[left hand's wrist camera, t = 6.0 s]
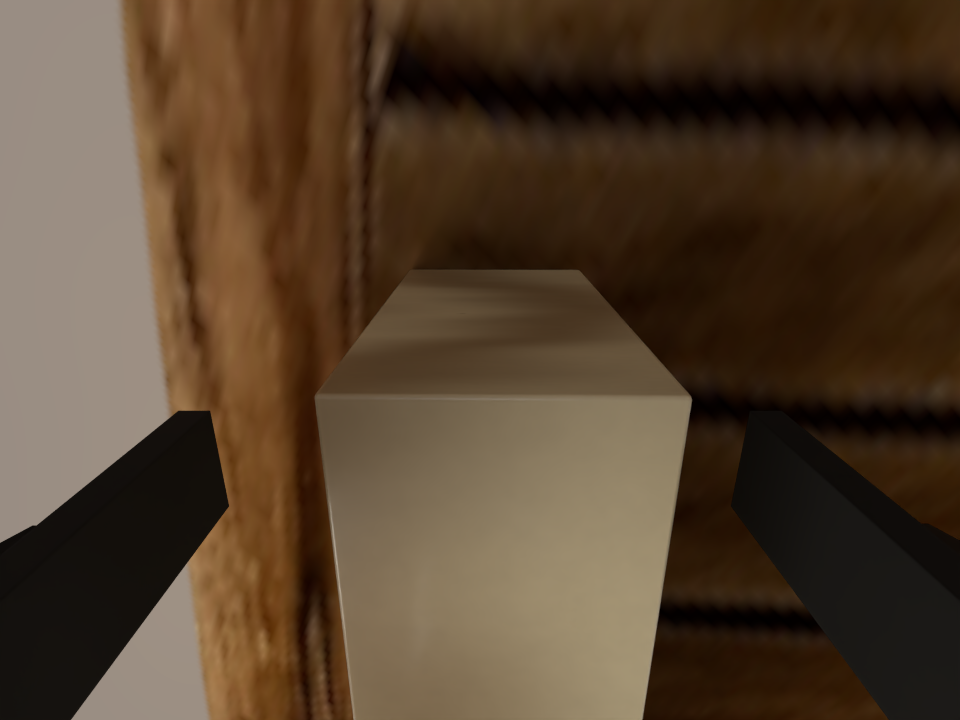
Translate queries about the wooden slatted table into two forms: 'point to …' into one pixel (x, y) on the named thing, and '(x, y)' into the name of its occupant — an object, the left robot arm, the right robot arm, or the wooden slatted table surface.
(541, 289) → the birch rail
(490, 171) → the wooden slatted table surface
